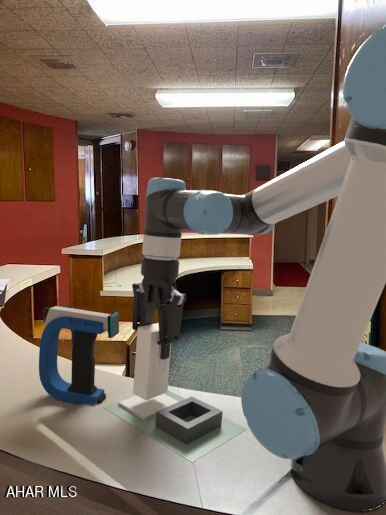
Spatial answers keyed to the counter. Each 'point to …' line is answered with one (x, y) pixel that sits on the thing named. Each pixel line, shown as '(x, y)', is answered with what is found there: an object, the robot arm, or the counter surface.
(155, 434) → the green socket board
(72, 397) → the handheld scanner
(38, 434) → the counter surface
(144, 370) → the plug
